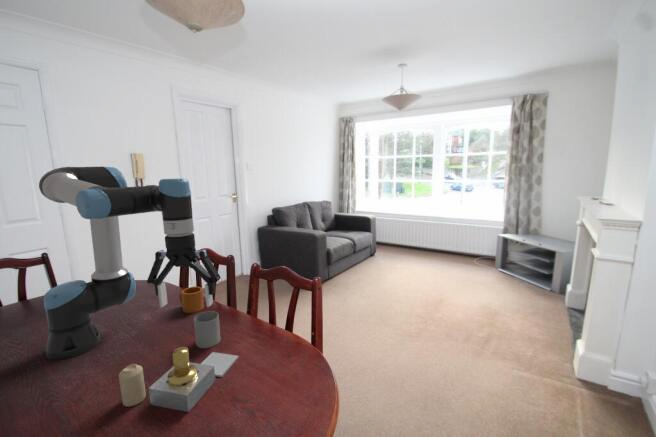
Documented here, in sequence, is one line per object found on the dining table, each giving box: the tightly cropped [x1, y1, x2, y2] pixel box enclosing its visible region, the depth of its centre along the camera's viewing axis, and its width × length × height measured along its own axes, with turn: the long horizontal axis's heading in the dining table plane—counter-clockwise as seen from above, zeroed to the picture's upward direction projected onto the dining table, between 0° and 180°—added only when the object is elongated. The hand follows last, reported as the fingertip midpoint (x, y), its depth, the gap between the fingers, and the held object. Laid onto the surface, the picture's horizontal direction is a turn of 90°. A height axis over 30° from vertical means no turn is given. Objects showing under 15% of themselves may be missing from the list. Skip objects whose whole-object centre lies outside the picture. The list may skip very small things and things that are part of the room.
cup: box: [193, 310, 221, 349], centre depth 111 cm, size 8×8×10 cm
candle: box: [118, 362, 147, 408], centre depth 83 cm, size 6×6×10 cm
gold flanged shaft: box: [168, 346, 197, 386], centre depth 85 cm, size 8×8×13 cm
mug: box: [178, 286, 205, 314], centre depth 139 cm, size 9×12×9 cm
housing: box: [148, 361, 216, 413], centre depth 86 cm, size 12×12×5 cm
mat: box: [200, 351, 239, 378], centre depth 98 cm, size 10×10×1 cm
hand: (186, 305), depth 88 cm, fingers open, 13 cm apart
